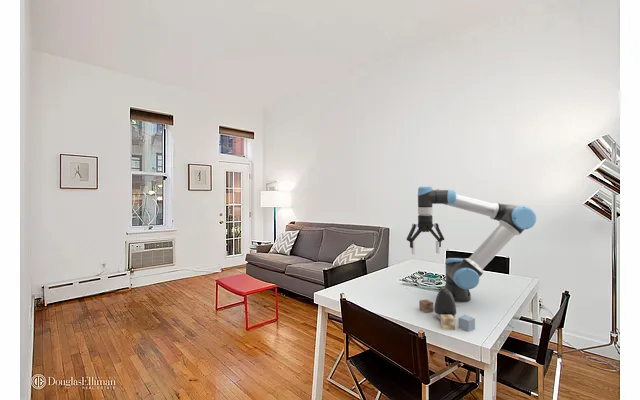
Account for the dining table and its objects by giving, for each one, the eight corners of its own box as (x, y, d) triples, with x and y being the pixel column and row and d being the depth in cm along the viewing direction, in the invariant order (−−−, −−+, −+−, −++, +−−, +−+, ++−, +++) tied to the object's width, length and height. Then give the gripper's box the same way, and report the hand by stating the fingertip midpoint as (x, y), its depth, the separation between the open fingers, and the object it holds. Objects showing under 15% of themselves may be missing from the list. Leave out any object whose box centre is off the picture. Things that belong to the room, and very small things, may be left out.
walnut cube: (427, 308, 170) (427, 299, 169) (433, 311, 165) (433, 302, 165) (419, 309, 168) (419, 300, 168) (425, 313, 163) (425, 303, 163)
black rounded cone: (450, 314, 161) (450, 284, 160) (460, 322, 151) (460, 291, 150) (430, 314, 161) (430, 285, 160) (439, 323, 150) (439, 292, 150)
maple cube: (451, 325, 149) (451, 314, 149) (454, 329, 144) (454, 319, 144) (440, 324, 149) (440, 314, 149) (443, 329, 144) (443, 318, 144)
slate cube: (464, 325, 148) (464, 314, 148) (474, 328, 144) (474, 318, 144) (458, 327, 146) (458, 317, 146) (468, 331, 142) (468, 320, 141)
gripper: (444, 213, 177) (444, 251, 177) (400, 214, 176) (400, 252, 177) (450, 214, 169) (450, 254, 170) (404, 215, 168) (404, 255, 169)
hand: (425, 253), depth 173 cm, fingers open, 13 cm apart
